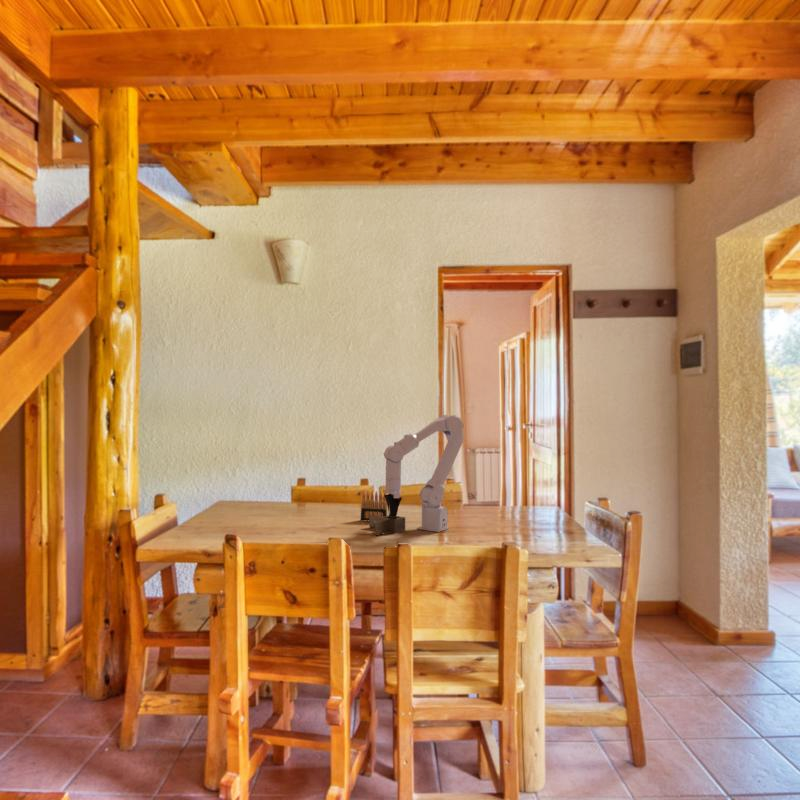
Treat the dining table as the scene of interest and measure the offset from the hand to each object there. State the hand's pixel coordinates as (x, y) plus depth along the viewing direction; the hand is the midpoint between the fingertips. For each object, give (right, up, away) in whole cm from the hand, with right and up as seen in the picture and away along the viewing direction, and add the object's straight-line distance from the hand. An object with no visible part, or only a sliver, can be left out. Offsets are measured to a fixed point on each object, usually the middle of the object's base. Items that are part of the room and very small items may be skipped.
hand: (392, 514), depth 225 cm
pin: (0, -2, 0) cm, 2 cm away
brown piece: (-5, -6, -1) cm, 8 cm away
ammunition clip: (-8, -6, +18) cm, 21 cm away
